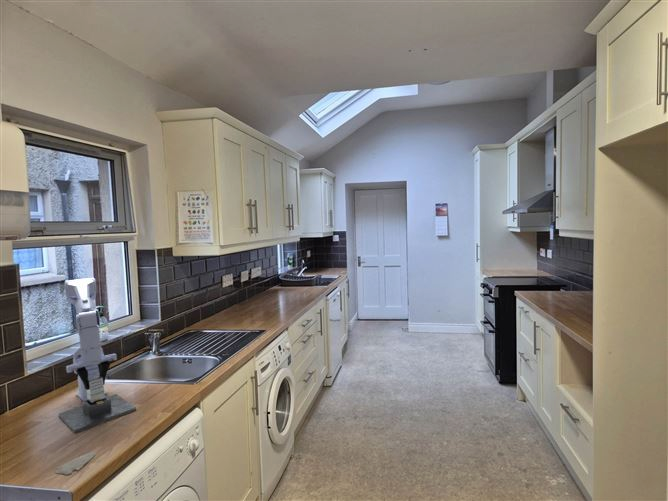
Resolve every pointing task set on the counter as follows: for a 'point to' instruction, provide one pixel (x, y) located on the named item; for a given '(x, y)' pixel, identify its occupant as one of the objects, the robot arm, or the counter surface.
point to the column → (95, 388)
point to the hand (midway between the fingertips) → (94, 386)
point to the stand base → (96, 412)
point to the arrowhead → (75, 464)
